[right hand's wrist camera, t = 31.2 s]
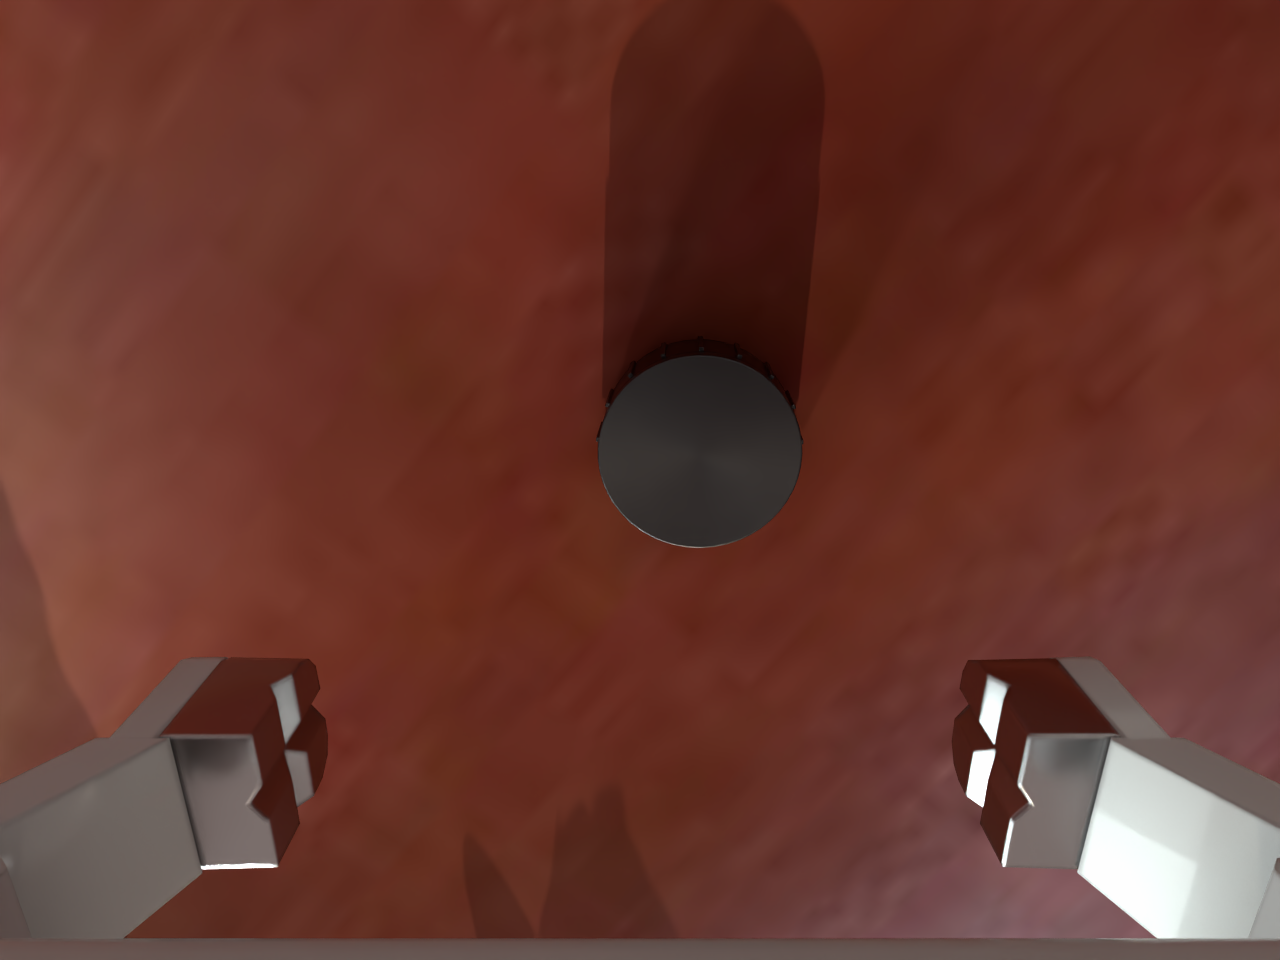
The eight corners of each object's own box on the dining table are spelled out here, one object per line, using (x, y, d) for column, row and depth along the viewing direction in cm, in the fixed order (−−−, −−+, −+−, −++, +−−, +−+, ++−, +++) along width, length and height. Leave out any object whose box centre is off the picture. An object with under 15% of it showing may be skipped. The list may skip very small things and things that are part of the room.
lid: (594, 510, 23) (587, 540, 21) (609, 326, 21) (602, 341, 19) (778, 529, 23) (786, 560, 21) (808, 346, 21) (821, 363, 19)
